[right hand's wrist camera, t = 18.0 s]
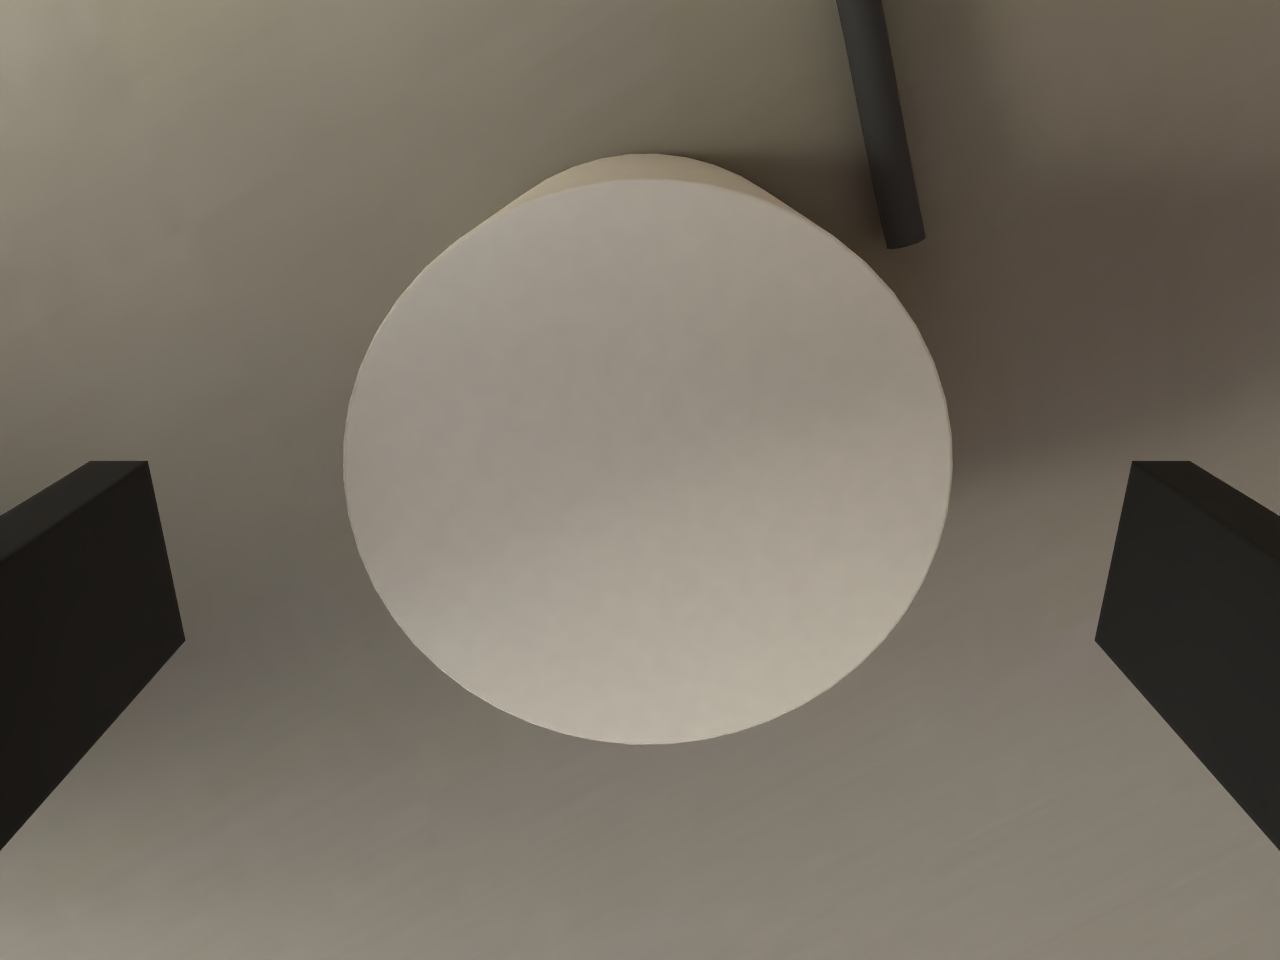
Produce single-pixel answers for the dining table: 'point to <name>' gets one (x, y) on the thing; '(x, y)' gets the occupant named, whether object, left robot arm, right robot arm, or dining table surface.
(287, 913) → the dining table surface
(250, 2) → the dining table surface
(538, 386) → the cylinder
